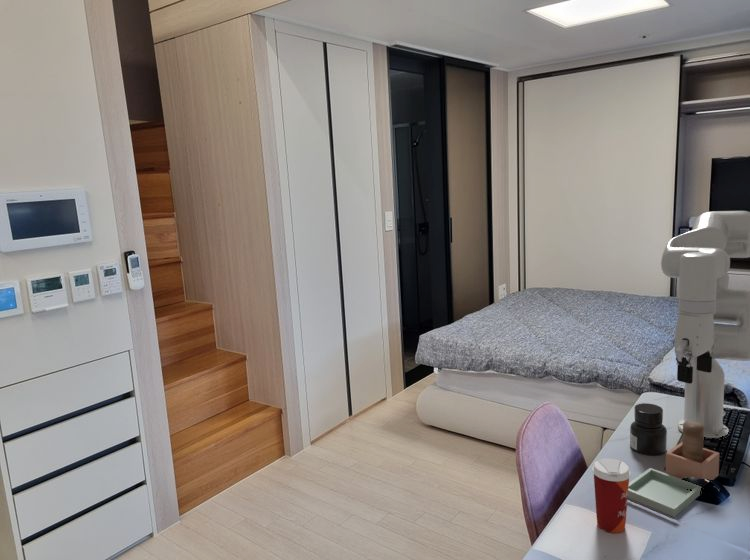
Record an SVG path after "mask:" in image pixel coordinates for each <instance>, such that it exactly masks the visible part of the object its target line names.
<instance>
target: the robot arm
mask: <svg viewBox="0 0 750 560" xmlns="http://www.w3.org/2000/svg"><path fill="white" fill-rule="evenodd" d="M731 258H734V259H735V258H736V259H738V258H739V259H744V258H745V259H747V258H750V211H749V210H748V211H747V210H717V211H715V210H714V211H713V210H712V211H707V212H704V213H702V214H700V215H698V216H697V217H696V219H695V221H694V223H693V226H692V229H691V230H689V231H687V232H684V233H683V234H679V235H677V236H674V237H673V238H671V239H670V240H668V242H667V243H666V245H665V248H664V250H663V252H662V256H661V261H660V265H661V271H662V273H663V274H664V275H665V276H666V277H668V278H671V279H678V306H677V309H678V316H677V320H676V327H675V338H674V353H675V361H676V365H677V371H676V372H677V373H676V374H677V376H676V377H677V378H676V380H677V381H678V382H681V383H684V403H683V405H684V407H683V408H684V409H683V410H684V412H683V416H684V417H683V418H682V419H681V420H679V421H678V422H677V429H678V430H679V432H681V433H682V434H683V423H685V422H696V423H700V424H702V425H703V426H704V437H706V438H719V437H722V436H725V435H727V434H728V432H729V433H730V429H729V428H728V427H727V426H726V425H725V424H724V423H723V420H724V416H725V415H726V411H725V410H724V397H725V379H726V378H725V376H726V375H725V372H724V369H723V367H722V366H721V365H720V363H719V362H718V360H727V361H735V362H736V361H737V362H738V361H739V362H749V361H750V290H746V289H730V288H729V284H730V283H729V281H730V276H729V274H728V272H729V271H730V268H731ZM716 359H717V360H716ZM728 435H729V434H728Z"/></svg>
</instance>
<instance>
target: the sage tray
mask: <svg viewBox="0 0 750 560" xmlns="http://www.w3.org/2000/svg"><path fill="white" fill-rule="evenodd" d="M701 488H702V487H701V486H699V485H696V484H693V483H691V482H688V481H685V480H682V479H680V478H677V477H674V476H671V475H669V474H666V472H663V471H661V470H657V469H656V468H652V467H649V468H647V469H646V470H645V471H644V472H642V473H640V474H639V475H638V476H636V477H635V478H633V479H632V480H631V481H629V486H628V499H627V501H630V502H632V503H635V504H637V505H639V506H642V507H644V508H647V509H650V510H652V511H654V512H656V513H659V514H660V515H663V516H666V517H668V518H670V519H672V520H675V517H676V516H677V515H678V514H680V513H681V512H682V511H683V510H684V509H686V508H687V507H688V506H689V505H690V504H691V503H693V502H694V501H695V500H696V499H698V498H699V497H700V496H701V495H700V491H701ZM687 489H688V490H687ZM690 489H691V490H692V491H690ZM701 492H702V491H701Z"/></svg>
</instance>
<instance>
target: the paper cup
mask: <svg viewBox="0 0 750 560" xmlns="http://www.w3.org/2000/svg"><path fill="white" fill-rule="evenodd" d="M591 472H592V473H593V483H594V485H593V486H594V498H595V499H594V500H595V510H596V511H595V512H596V523H597V526H598V528H599V529H600V530H601V531H603V532H606V533H608V534H621V533H623V532H624V531H625V530H626V523H627V512H628V511H627V510H628V499H629V498H628V486H629V482H630V478H631V475H632V473H631V470H630V468H629V466H628V464H626V463H625V462H624V461H621V460H619V459H615V458H614V459H613V458H601V459H598V460H596V461H595V462H594V463H593V466H592V468H591Z"/></svg>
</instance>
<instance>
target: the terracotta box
mask: <svg viewBox="0 0 750 560" xmlns="http://www.w3.org/2000/svg"><path fill="white" fill-rule="evenodd" d="M682 442H683V440H682V441H681V442H680V443H678V444H676V445H675V446H673V448H671V449H670V450H668V451H666V452H665V473H666V474H669V475H671V476H674V477H677V478H680V479H683V478H685V477H694V478H701V479H709V480H713V481H714V480H715V479H716V478H718V476H719V475H720V474H719V472H720V452H718V451H714V450H713V449H712V450H711V449H708V448H705V447H703V462H702V463H699V462H696V461H693V460H690V459H687V458H684V457H682Z"/></svg>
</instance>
